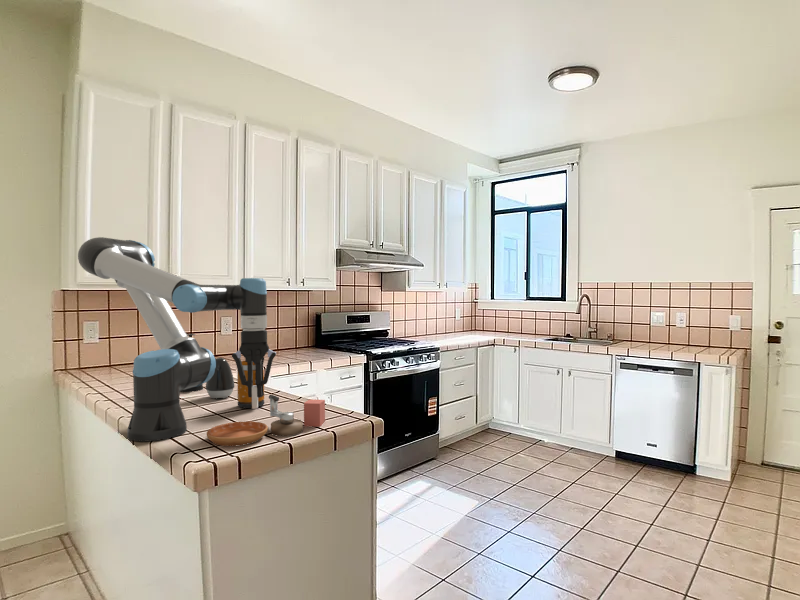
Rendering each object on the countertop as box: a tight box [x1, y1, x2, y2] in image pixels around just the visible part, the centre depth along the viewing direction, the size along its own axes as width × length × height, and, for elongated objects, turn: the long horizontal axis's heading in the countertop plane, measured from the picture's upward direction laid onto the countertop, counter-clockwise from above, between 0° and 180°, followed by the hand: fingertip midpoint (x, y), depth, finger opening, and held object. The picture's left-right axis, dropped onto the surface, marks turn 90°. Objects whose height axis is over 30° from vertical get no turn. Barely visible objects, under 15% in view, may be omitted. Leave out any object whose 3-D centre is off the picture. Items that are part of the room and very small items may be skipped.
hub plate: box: [270, 418, 304, 437], centre depth 137 cm, size 9×9×3 cm
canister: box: [236, 356, 265, 409], centre depth 166 cm, size 9×11×20 cm
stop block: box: [303, 398, 326, 428], centre depth 145 cm, size 5×5×7 cm
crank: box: [268, 394, 295, 424], centre depth 140 cm, size 12×4×6 cm, turn 42°
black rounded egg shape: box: [205, 357, 235, 400], centre depth 181 cm, size 10×10×15 cm
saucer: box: [206, 420, 269, 447], centre depth 131 cm, size 16×16×3 cm
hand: (255, 407), depth 142 cm, fingers closed
